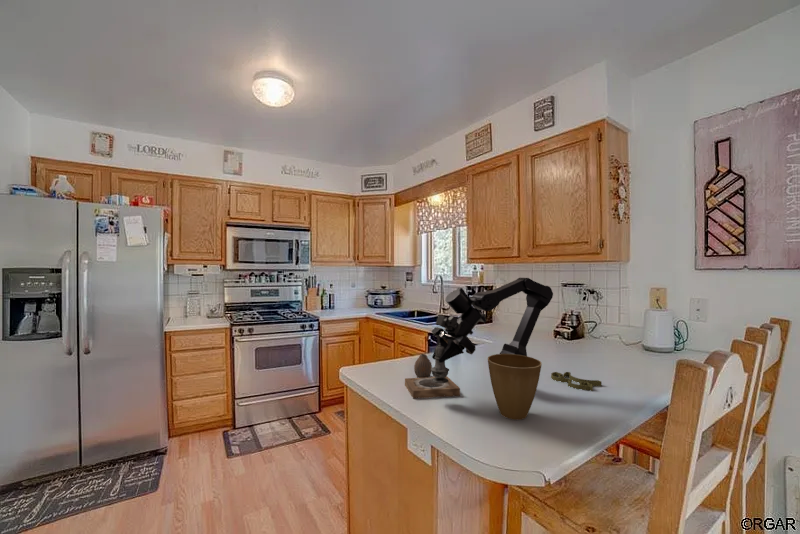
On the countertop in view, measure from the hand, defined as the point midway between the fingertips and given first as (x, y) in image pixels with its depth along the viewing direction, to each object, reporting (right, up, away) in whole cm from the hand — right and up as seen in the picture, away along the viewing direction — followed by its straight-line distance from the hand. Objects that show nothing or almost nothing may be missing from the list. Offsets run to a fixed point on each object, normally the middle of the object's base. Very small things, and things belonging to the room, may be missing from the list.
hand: (436, 360), depth 111 cm
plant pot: (+22, -14, -9) cm, 27 cm away
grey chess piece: (+1, -7, 0) cm, 7 cm away
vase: (-2, -14, +26) cm, 29 cm away
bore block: (-1, -13, +11) cm, 17 cm away
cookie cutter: (+54, -15, +21) cm, 60 cm away
